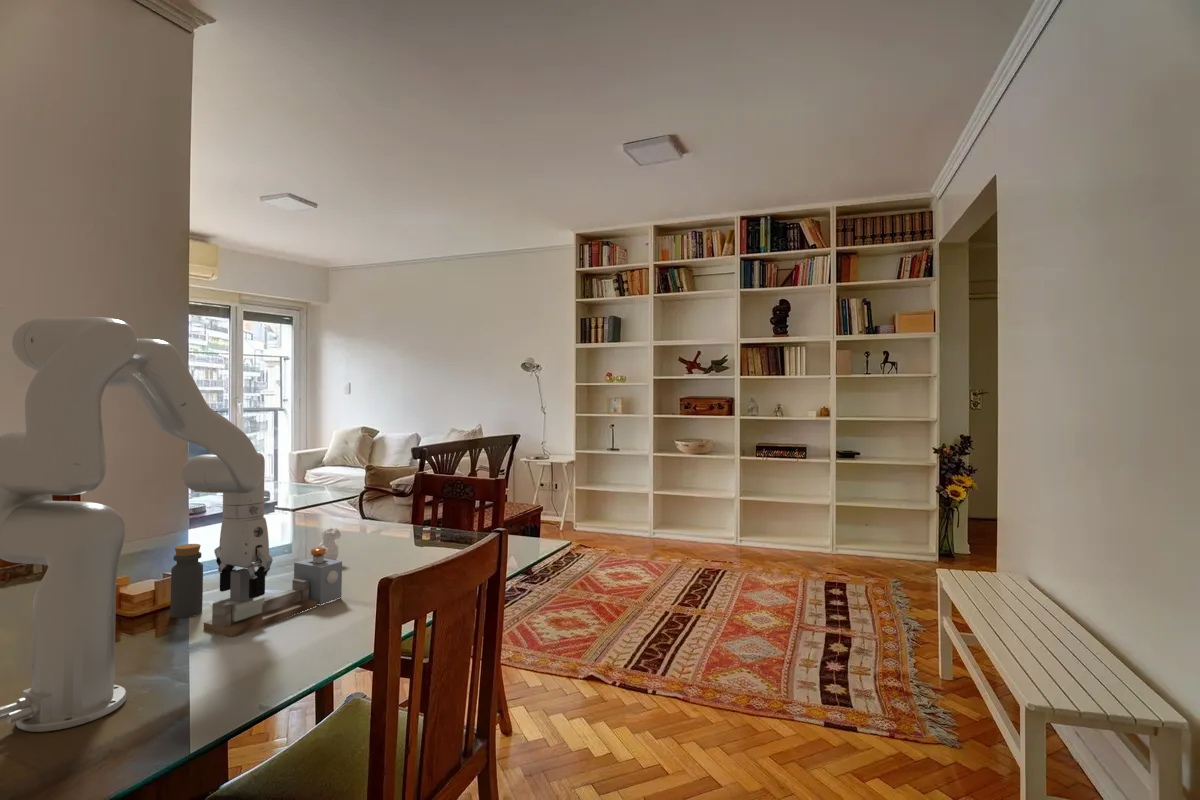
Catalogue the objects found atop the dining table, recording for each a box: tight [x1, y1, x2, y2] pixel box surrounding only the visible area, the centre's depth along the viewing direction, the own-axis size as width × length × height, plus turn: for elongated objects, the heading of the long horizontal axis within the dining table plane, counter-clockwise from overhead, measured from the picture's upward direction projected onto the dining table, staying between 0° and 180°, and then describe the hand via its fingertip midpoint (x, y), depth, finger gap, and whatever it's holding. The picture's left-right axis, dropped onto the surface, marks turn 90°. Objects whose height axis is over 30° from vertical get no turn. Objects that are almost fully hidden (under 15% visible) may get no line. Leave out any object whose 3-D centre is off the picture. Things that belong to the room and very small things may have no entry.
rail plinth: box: [203, 578, 317, 638], centre depth 132 cm, size 20×9×6 cm, turn 155°
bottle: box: [169, 543, 204, 619], centre depth 133 cm, size 6×6×15 cm
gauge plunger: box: [310, 547, 326, 564], centre depth 144 cm, size 3×3×6 cm
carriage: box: [220, 567, 265, 621], centre depth 127 cm, size 6×6×9 cm
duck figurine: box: [316, 526, 342, 560], centre depth 177 cm, size 12×8×11 cm
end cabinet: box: [293, 557, 343, 605], centre depth 144 cm, size 6×9×9 cm, turn 65°
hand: (242, 592), depth 127 cm, fingers open, 8 cm apart
